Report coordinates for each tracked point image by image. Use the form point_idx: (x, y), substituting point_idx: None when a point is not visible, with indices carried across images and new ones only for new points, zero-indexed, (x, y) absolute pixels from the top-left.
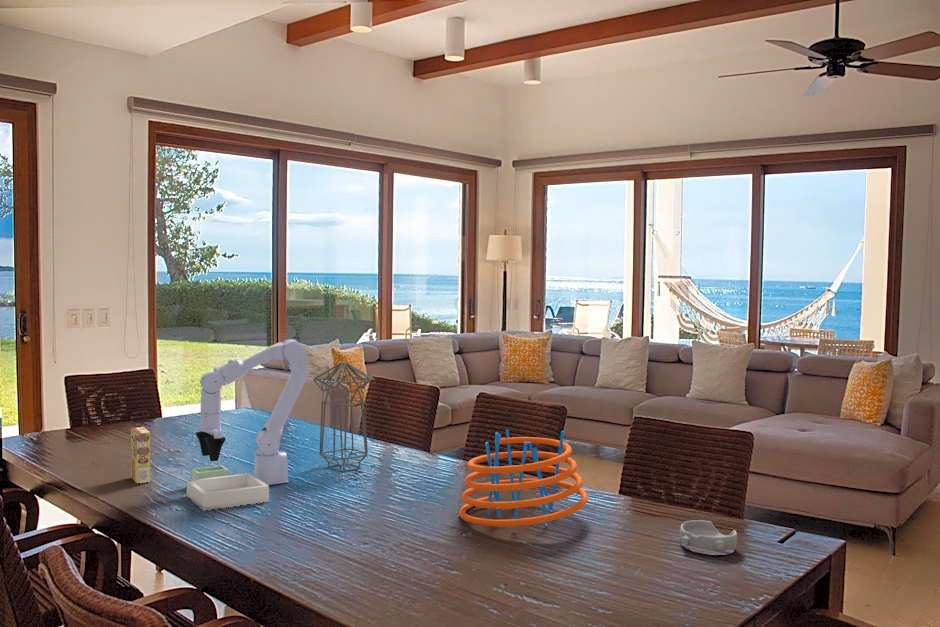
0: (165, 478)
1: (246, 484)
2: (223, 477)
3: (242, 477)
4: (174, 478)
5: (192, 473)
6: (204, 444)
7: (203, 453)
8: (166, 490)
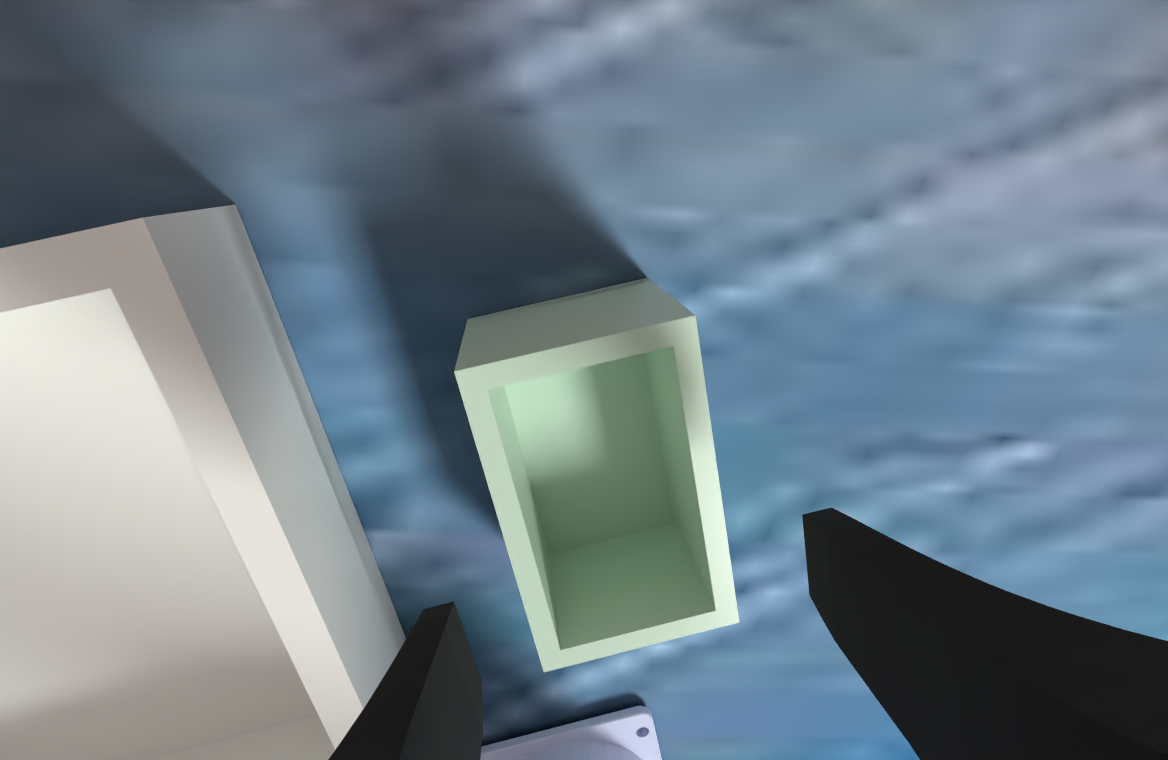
0: (1016, 35)
1: None
2: (273, 617)
3: None
4: (973, 130)
5: (653, 310)
6: (922, 659)
7: (821, 540)
8: (530, 5)
